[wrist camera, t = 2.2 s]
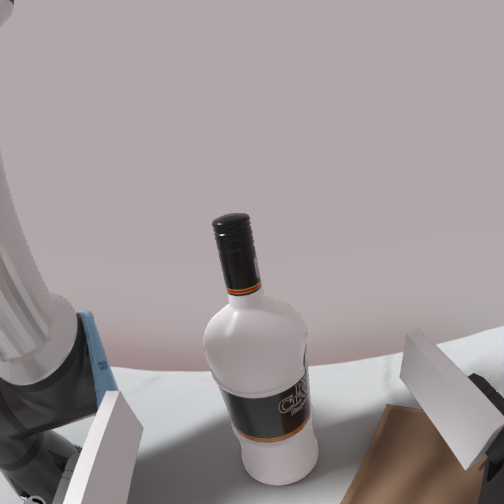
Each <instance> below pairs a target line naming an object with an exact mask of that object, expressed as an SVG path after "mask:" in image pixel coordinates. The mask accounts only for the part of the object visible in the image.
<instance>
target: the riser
mask: <svg viewBox="0 0 504 504" xmlns="http://www.w3.org/2000/svg"><path fill="white" fill-rule="evenodd" d="M486 458H487V455H486V454H484V455H483V457H482V458H481V459H480V461H478V462H477V463H476V464H474V465H473V466H471V467H470V468H469V469H467V470H466V471H465V470H464V468H463V466H462V465H461V463H460V462H459V460H458V459H457V457H456V456H455V454H454V453H453V451H452V450H451V448H450V447H449V446H448V444H447V443H446V441H445V440H444V438H443V437H442V435H441V434H440V432H439V431H438V430H437V428H436V427H435V425H434V424H433V422H432V421H431V420H430V418H429V417H428V415H427V414H426V413H425V411H424V410H423V409H416V408H408V407H402V406H395V405H389V404H387V405H386V408H385V410H384V413H383V416H382V418H381V421H380V423H379V426H378V428H377V431H376V433H375V435H374V438H373V440H372V442H371V445H370V447H369V449H368V451H367V453H366V456H365V458H364V460H363V462H362V464H361V466H360V468H359V470H358V472H357V474H356V476H355V478H354V480H353V482H352V484H351V485H350V487H349V489H348V491H347V493H346V494H345V496H344V498H343V500H342V501H341V503H340V504H477V503H478V499H479V495H480V490H481V485H482V480H483V475H484V469H485V466H484V467H483V469H482V470H481V471H478V470H479V468H480V466H481V465H482V463H483V462H484V461H485V460H486Z"/></svg>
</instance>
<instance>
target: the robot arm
mask: <svg viewBox="0 0 504 504" xmlns="http://www.w3.org/2000/svg"><path fill="white" fill-rule="evenodd" d="M13 4H14V0H0V28H1V27H2V26H3V25H4V23H5V22H6V21H7V20H8V19H9V18H10V16H11V14H12V11H13ZM400 378H401V380H402V381H403V382H404V384H405V385H406V386H407V388H408V389H409V390H410V392H411V393H412V395H413V396H414V397H415V399H416V400H417V401H418V403H419V404H420V406H421V407H422V408H423V410H424V411H425V413H426V414H427V415H428V417H429V418H430V420H431V421H432V422H433V424H434V425H435V427H436V428H437V430H438V431H439V432H440V434H441V435H442V437H443V438H444V440H445V441H446V443H447V444H448V446H449V447H450V448H451V450H452V451H453V453H454V454H455V456H456V457H457V459H458V460H459V462H460V463H461V465H462V466H463V468H464V470H465V471H466V470H467V469H469V468H470V467H471V466H473V465H474V464H476V463H477V462H478V461H480V459H481V458H482V457H483V455H484V454H486V455H487V458H486V460H485V461H484V462H483V463H482V465H481V466H480V468H479V470H478V471H481V470H482V469H483V467H484V466H485V469H484V475H483V480H482V485H481V490H480V495H479V499H478V503H477V504H504V398H503V397H502V396H501V395H500V394H499V393H498V392H496V390H495V389H494V388H493V387H491V385H490V384H489V383H488V382H487V381H486V380H485V379H484V378H483V377H481V376H479V375H477V374H475V373H473V374H471V375H470V376H468V377H467V376H466V375H465V374H464V373H463V372H462V371H461V370H460V369H459V368H458V367H457V366H456V365H455V364H454V363H453V362H452V361H451V360H450V359H449V358H448V357H447V356H446V355H445V354H444V353H443V352H442V351H441V350H440V349H439V348H438V347H437V346H436V345H435V344H434V343H433V342H432V341H431V340H430V339H429V338H428V337H427V336H426V335H424V333H422V331H421V330H419V329H418V330H415V331H413V332H410V333H408V334H406V338H405V346H404V353H403V360H402V366H401V372H400ZM94 415H95V419H94V421H93V423H92V426H91V428H90V431H89V433H88V436H87V438H86V441H85V443H84V446H83V448H82V451H81V453H80V452H79V451H78V450H77V449H76V448H75V447H74V446H73V445H72V443H71V442H69V441H68V440H67V439H66V438H64V437H62V436H61V435H59V434H57V433H56V432H54V431H53V430H51V429H54V428H58V427H61V426H64V425H67V424H70V423H73V422H77V421H80V420H82V419H85V418H88V417H91V416H94ZM142 432H143V426H142V425H141V423H140V422H139V420H138V419H137V417H136V416H135V414H134V413H133V411H132V410H131V408H130V406H129V405H128V403H127V402H126V400H125V398H124V397H123V395H122V393H121V392H120V391H119V389H118V386H117V384H116V381H115V379H114V376H113V373H112V371H111V368H110V365H109V363H108V360H107V357H106V354H105V351H104V348H103V345H102V343H101V340H100V336H99V333H98V330H97V327H96V324H95V321H94V317H93V314H92V313H91V312H90V311H87V310H86V311H78V312H77V313H75V311H74V309H73V307H72V306H71V304H70V303H69V302H68V301H67V300H66V299H65V298H63V297H62V296H60V295H58V294H55V293H50V292H49V291H48V289H47V287H46V285H45V283H44V281H43V279H42V277H41V274H40V272H39V270H38V268H37V266H36V263H35V261H34V259H33V256H32V254H31V251H30V249H29V246H28V244H27V241H26V239H25V236H24V233H23V231H22V228H21V225H20V222H19V219H18V216H17V213H16V210H15V207H14V204H13V201H12V197H11V194H10V190H9V187H8V183H7V179H6V175H5V171H4V167H3V162H2V158H1V153H0V471H1V472H2V474H3V475H4V477H5V478H6V480H7V481H8V483H9V484H10V485H11V487H12V488H13V490H14V491H15V492H16V494H17V495H18V496H19V497H20V498H21V499H22V500H24V501H25V502H24V504H127V499H128V494H129V489H130V484H131V480H132V475H133V470H134V466H135V461H136V457H137V453H138V448H139V444H140V440H141V436H142Z"/></svg>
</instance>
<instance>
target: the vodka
mask: <svg viewBox="0 0 504 504" xmlns="http://www.w3.org/2000/svg"><path fill="white" fill-rule="evenodd" d="M249 220H250V217H249V215H248V214H245V213H232V214H227V215H224V216H221V217H219V218H216V219H215V220H214V221H213V222H212V226H213V227H214V228H213V229H214V232H215V233H214V235H215V240H216V243H217V248H218V251H219V257H220V261H221V266H222V270H223V275H224V280H225V284H226V288H227V292H228V298H229V302H230V303H229V304H228V305H226V306H225V307H224V308H223V309H222V310H221V311H219V312H218V313H217V314H216V315H215V316H213V318H212V319H211V320H210V321H209V323H208V325H207V327H206V330H205V332H204V342H203V349H204V352H205V355H206V358H207V360H208V363H209V365H210V367H211V371H212V375H213V378H214V380H215V381H216V383H217V384H218V385H219V388H220V391H221V394H222V396H223V399H224V402H225V404H226V407H227V410H228V412H229V415H230V418H231V426H232V429H233V432H234V433H235V435H236V436H237V437H238V439H239V441H240V444H241V448H242V451H241V456H242V461H243V464H244V466H245V469H246V470H247V472H248V473H249V474H250V475H251V476H252V477H253V478H254V479H256V480H257V481H259V482H262V483H265V484H269V485H287V484H291V483H294V482H296V481H299V480H301V479H302V478H304V477H305V476H307V475H308V474H309V473H310V472H311V471H312V470H313V468H314V467H315V465H316V463H317V460H318V456H319V450H318V443H317V440H316V438H315V436H314V432H313V427H312V421H313V415H314V412H313V407H312V405H311V401H310V387H309V374H308V362H307V349H306V339H307V327H306V325H305V323H304V321H303V319H302V317H301V315H300V314H299V312H298V311H297V310H296V309H294V308H293V307H292V306H291V305H289V304H287V303H285V302H283V301H280V300H276V299H273V298H270V297H266V296H264V292H263V288H262V286H261V280H260V274H259V268H258V263H257V257H256V252H255V247H254V245H253V244H254V240H253V235H252V230H251V226H250V221H249Z"/></svg>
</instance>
